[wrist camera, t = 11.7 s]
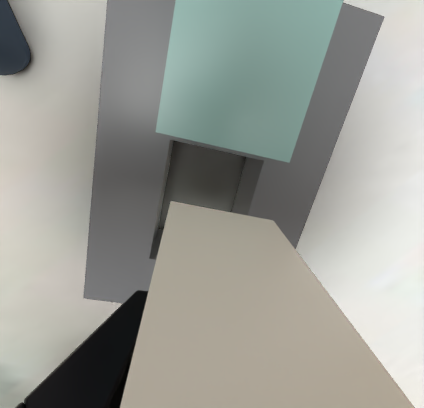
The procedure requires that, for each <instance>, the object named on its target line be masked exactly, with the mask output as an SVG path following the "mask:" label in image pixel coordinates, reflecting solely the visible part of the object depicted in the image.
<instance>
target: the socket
mask: <svg viewBox="0 0 424 408" xmlns="http://www.w3.org/2000/svg"><path fill="white" fill-rule="evenodd" d="M175 1H176V0H107V12H106V25H105V37H104V50H103V62H102V75H101V87H100V100H99V112H98V125H97V137H96V149H95V162H94V174H93V187H92V199H91V212H90V224H89V237H88V249H87V262H86V274H85V287H84V298H86V299H93V300H101V301H109V302H117V303H124V302H125V301H126V300H127V299H128V298H129V297H130V296H131V295H133V294H134V293H135V292H136V291H137V290H143V291H149V287H150V283H151V279H152V275H153V271H154V267H155V263H156V259H157V255H158V251H159V246H160V242H161V238H162V234H163V230H160V229H158V227H159V221H160V216H161V210H162V204H163V199H164V193H165V188H166V182H167V176H168V171H169V165H170V160H171V154H172V148H173V143H174V141H178V142H183V143H187V144H191V145H196V146H200V147H205V148H209V149H213V150H218V151H222V152H227V153H231V154H236V155H240V156H244V157H246V161H245V164H244V168H243V171H242V175H241V179H240V182H239V186H238V190H237V193H236V197H235V201H234V204H233V208H232V211H231V212H232V213H237V214H242V215H247V216H253V217H258V218H263V219H268V220H273V221H274V222H275V223H276V225H277V226H278V227H279V229H280V230H281V231H282V233H283V234H284V235H285V237H286V238H287V239H288V241H289V242H290V243H291V244H292V246H293V247H294V248H295V249H296V246H297V244H298V241H299V238H300V236H301V233H302V231H303V228H304V225H305V223H306V220H307V217H308V215H309V212H310V210H311V207H312V204H313V202H314V199H315V197H316V194H317V191H318V189H319V186H320V184H321V181H322V178H323V176H324V173H325V171H326V168H327V165H328V163H329V160H330V157H331V155H332V152H333V150H334V147H335V144H336V142H337V139H338V137H339V134H340V131H341V129H342V126H343V124H344V121H345V118H346V116H347V113H348V110H349V108H350V105H351V103H352V100H353V97H354V95H355V92H356V90H357V87H358V84H359V82H360V79H361V77H362V74H363V71H364V69H365V66H366V64H367V61H368V58H369V56H370V53H371V50H372V48H373V45H374V43H375V40H376V37H377V35H378V32H379V30H380V27H381V24H382V22H383V19H384V16H381V15H378V14H375V13H372V12H369V11H366V10H363V9H360V8H357V7H354V6H352V5H349V4H346V3H342V6H341V9H340V12H339V15H338V18H337V21H336V24H335V27H334V30H333V34H332V37H331V40H330V43H329V46H328V49H327V52H326V55H325V58H324V61H323V64H322V67H321V70H320V73H319V76H318V79H317V82H316V85H315V88H314V91H313V94H312V97H311V100H310V103H309V106H308V109H307V112H306V115H305V118H304V121H303V124H302V127H301V130H300V133H299V136H298V139H297V142H296V145H295V148H294V151H293V154H292V157H291V160H290V163H288V162H284V161H279V160H275V159H271V158H266V157H262V156H258V155H253V154H249V153H245V152H240V151H236V150H231V149H227V148H223V147H218V146H214V145H210V144H205V143H201V142H196V141H192V140H188V139H183V138H179V137H175V136H170V135H166V134H162V133H157V132H156V125H157V119H158V112H159V106H160V99H161V93H162V86H163V80H164V73H165V66H166V60H167V53H168V47H169V40H170V34H171V27H172V21H173V14H174V8H175Z"/></svg>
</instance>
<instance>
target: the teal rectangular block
mask: <svg viewBox="0 0 424 408" xmlns="http://www.w3.org/2000/svg"><path fill="white" fill-rule="evenodd" d="M342 3H343V0H176V1H175V8H174V14H173V21H172V27H171V34H170V40H169V47H168V53H167V60H166V66H165V73H164V80H163V86H162V93H161V99H160V106H159V112H158V119H157V125H156V132H157V133H162V134H166V135H170V136H175V137H179V138H183V139H188V140H192V141H196V142H201V143H205V144H210V145H214V146H218V147H223V148H227V149H231V150H236V151H240V152H245V153H249V154H253V155H258V156H262V157H266V158H271V159H275V160H279V161H284V162H288V163H290V160H291V157H292V154H293V151H294V148H295V145H296V142H297V139H298V136H299V133H300V130H301V127H302V124H303V121H304V118H305V115H306V112H307V109H308V106H309V103H310V100H311V97H312V94H313V91H314V88H315V85H316V82H317V79H318V76H319V73H320V70H321V67H322V64H323V61H324V58H325V55H326V52H327V49H328V46H329V43H330V40H331V37H332V34H333V30H334V27H335V24H336V21H337V18H338V15H339V12H340V9H341V6H342Z"/></svg>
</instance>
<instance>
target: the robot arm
mask: <svg viewBox="0 0 424 408" xmlns="http://www.w3.org/2000/svg"><path fill="white" fill-rule="evenodd" d="M147 295H148V291H143V290H137V291H136V292H135V293H134V294H133V295H131V296H130V297H129V298H128V299H127V300H126V301H125V302H124V303H123V304H122V305H121V306H120V307H119V308H118V309H117V310H116V311H115V312H114V313H113V314H112V315H111V316H110V317H109V318H108V319H107V320H106V321H105V322H104V323H103V324H102V325H100V326H99V327H98V328H97V329H96V330H95V331H94V332H93V333H92V334H91V335H90V336H89V337H88V338H87V339H86V340H85V341H84V342H83V343H82V344H81V345H80V346H79V347H78V348H77V349H76V350H75V351H74V352H73V353H72V354H70V355H69V356H68V357H67V358H66V359H65V360H64V361H63V362H62V363H61V364H60V365H59V366H58V367H57V368H56V369H55V370H54V371H53V372H52V373H51V374H50V375H49V376H48V377H47V378H46V379H45V380H44V381H43V382H42V383H41V384H39V385H38V386H37V387H36V388H35V389H34V390H33V391H32V392H31V393H30V394H29V395H28V396H27V397H26V398H25V400H24V403H20V404H18V405H17V406H16V407H15V408H120V405H121V401H122V397H123V393H124V389H125V385H126V381H127V377H128V373H129V369H130V365H131V361H132V356H133V352H134V348H135V344H136V340H137V336H138V332H139V328H140V324H141V320H142V316H143V312H144V308H145V303H146V299H147Z"/></svg>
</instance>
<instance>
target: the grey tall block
mask: <svg viewBox="0 0 424 408" xmlns="http://www.w3.org/2000/svg"><path fill="white" fill-rule="evenodd" d="M120 408H415V407H414V406H413V405H412V403H411V402H410V401H409V399H408V398H407V397H406V395H405V394H404V393H403V392H402V390H401V389H400V388H399V386H398V385H397V384H396V382H395V381H394V380H393V378H392V377H391V376H390V374H389V373H388V372H387V370H386V369H385V368H384V366H383V365H382V364H381V362H380V361H379V360H378V358H377V357H376V356H375V354H374V353H373V352H372V350H371V349H370V348H369V346H368V345H367V344H366V343H365V341H364V340H363V339H362V337H361V336H360V335H359V333H358V332H357V331H356V329H355V328H354V327H353V325H352V324H351V323H350V321H349V320H348V319H347V317H346V316H345V315H344V313H343V312H342V311H341V309H340V308H339V307H338V305H337V304H336V303H335V301H334V300H333V299H332V297H331V296H330V295H329V293H328V292H327V291H326V290H325V288H324V287H323V286H322V284H321V283H320V282H319V280H318V279H317V278H316V276H315V275H314V274H313V272H312V271H311V270H310V268H309V267H308V266H307V264H306V263H305V262H304V260H303V259H302V258H301V256H300V255H299V254H298V252H297V251H296V250H295V248H294V247H293V246H292V244H291V243H290V242H289V241H288V239H287V238H286V237H285V235H284V234H283V233H282V231H281V230H280V229H279V227H278V226H277V225H276V223H275V222H274V221H273V220H268V219H263V218H258V217H253V216H247V215H242V214H237V213H232V212H226V211H221V210H216V209H211V208H206V207H200V206H195V205H190V204H185V203H179V202H174V201H171V202H170V206H169V210H168V214H167V218H166V222H165V226H164V230H163V234H162V238H161V242H160V246H159V251H158V255H157V259H156V263H155V267H154V271H153V275H152V279H151V283H150V287H149V291H148V295H147V299H146V303H145V308H144V312H143V316H142V320H141V324H140V328H139V332H138V336H137V340H136V344H135V348H134V352H133V356H132V361H131V365H130V369H129V373H128V377H127V381H126V385H125V389H124V393H123V397H122V401H121V405H120Z"/></svg>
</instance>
